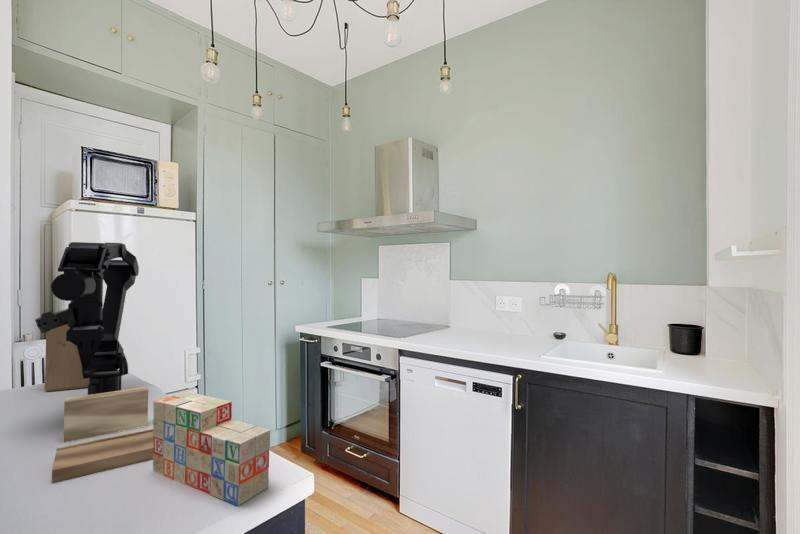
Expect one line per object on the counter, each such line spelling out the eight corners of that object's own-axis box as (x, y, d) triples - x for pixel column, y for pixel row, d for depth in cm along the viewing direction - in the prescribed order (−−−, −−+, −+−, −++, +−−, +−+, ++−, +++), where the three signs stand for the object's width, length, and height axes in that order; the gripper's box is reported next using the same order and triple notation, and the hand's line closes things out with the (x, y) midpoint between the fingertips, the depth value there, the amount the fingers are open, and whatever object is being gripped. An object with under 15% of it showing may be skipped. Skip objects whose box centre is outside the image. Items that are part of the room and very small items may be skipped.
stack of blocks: (270, 487, 63) (271, 410, 63) (237, 508, 58) (239, 423, 58) (185, 456, 73) (187, 389, 73) (151, 471, 68) (152, 399, 68)
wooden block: (43, 392, 107) (45, 319, 107) (55, 383, 116) (56, 315, 116) (89, 388, 112) (90, 317, 112) (97, 379, 121) (98, 314, 121)
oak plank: (64, 437, 80) (65, 398, 80) (146, 422, 89) (146, 386, 89) (63, 442, 78) (64, 402, 78) (147, 426, 86) (148, 390, 86)
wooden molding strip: (56, 459, 71) (57, 446, 71) (154, 438, 80) (154, 427, 80) (51, 482, 63) (52, 468, 63) (160, 457, 72) (160, 444, 72)
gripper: (43, 295, 92) (42, 362, 92) (33, 301, 77) (31, 381, 77) (103, 294, 99) (101, 356, 99) (104, 299, 84) (102, 373, 84)
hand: (85, 366), depth 90 cm, fingers open, 3 cm apart
